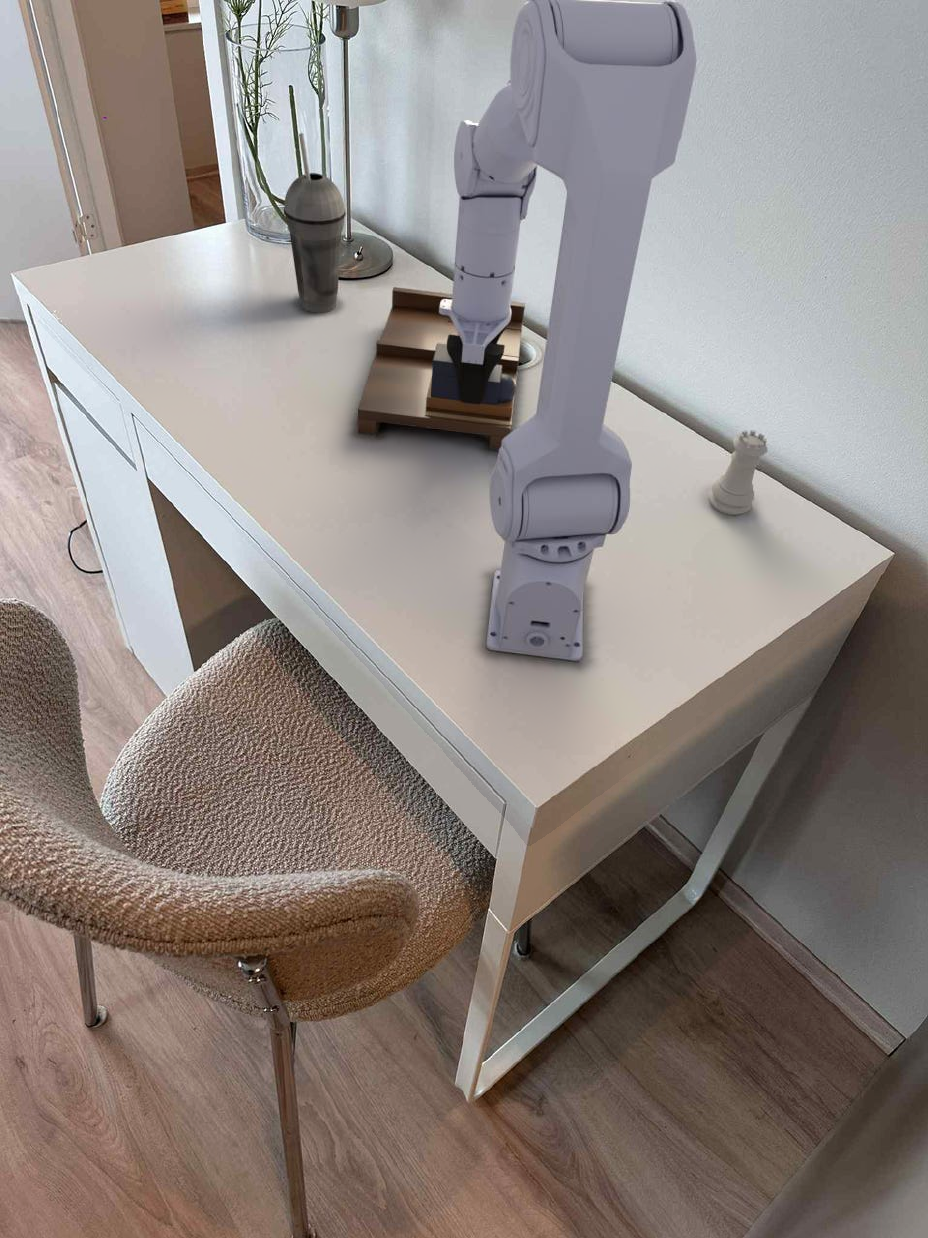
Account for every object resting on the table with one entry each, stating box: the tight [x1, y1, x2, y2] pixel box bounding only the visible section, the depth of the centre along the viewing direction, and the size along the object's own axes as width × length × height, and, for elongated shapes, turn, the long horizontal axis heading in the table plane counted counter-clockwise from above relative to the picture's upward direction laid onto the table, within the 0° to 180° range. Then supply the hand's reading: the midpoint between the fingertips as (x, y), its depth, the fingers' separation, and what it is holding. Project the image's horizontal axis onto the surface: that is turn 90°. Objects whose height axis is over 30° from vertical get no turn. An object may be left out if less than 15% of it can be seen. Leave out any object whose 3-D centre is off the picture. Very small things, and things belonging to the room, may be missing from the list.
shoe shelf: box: [356, 286, 526, 452], centre depth 100 cm, size 24×16×5 cm, turn 174°
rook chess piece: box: [708, 429, 768, 516], centre depth 88 cm, size 4×4×8 cm
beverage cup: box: [283, 132, 347, 314], centre depth 105 cm, size 7×7×20 cm
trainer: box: [426, 343, 517, 418], centre depth 92 cm, size 9×4×5 cm, turn 84°
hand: (472, 390), depth 93 cm, fingers closed on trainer, 3 cm apart
